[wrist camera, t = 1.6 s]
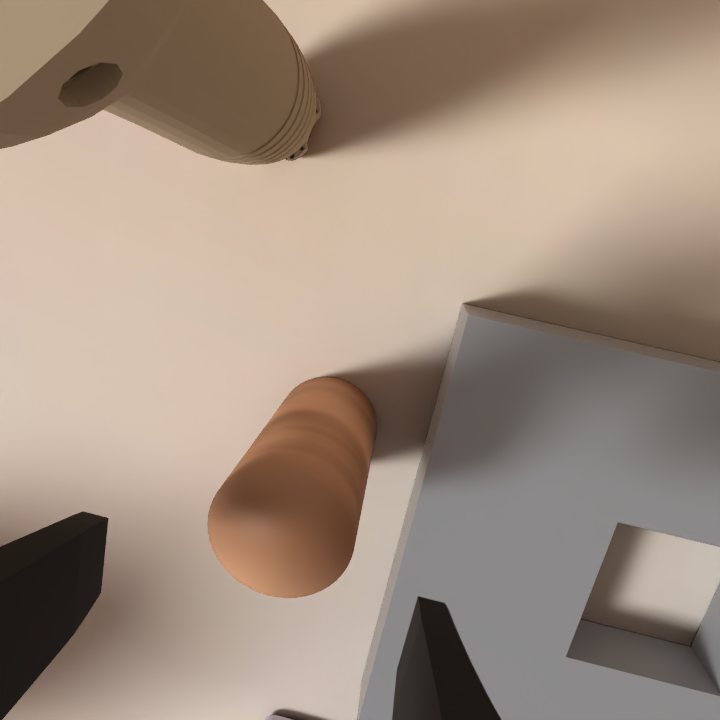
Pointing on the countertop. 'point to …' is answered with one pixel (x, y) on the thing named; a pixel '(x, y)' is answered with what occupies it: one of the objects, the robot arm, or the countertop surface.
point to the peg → (297, 492)
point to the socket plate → (556, 519)
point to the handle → (158, 73)
